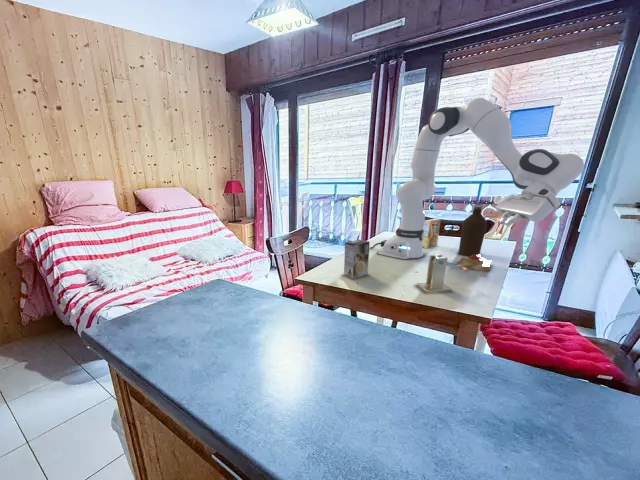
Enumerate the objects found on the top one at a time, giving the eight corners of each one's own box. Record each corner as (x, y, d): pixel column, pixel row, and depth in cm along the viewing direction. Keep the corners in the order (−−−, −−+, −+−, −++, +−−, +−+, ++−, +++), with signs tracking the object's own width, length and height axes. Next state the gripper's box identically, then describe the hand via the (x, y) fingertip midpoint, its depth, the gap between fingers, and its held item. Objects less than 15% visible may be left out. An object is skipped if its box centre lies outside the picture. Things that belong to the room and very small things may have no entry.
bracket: (440, 284, 137) (446, 252, 131) (451, 291, 129) (457, 258, 124) (416, 285, 137) (421, 254, 132) (425, 293, 130) (430, 260, 124)
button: (470, 259, 153) (471, 255, 152) (471, 257, 155) (472, 253, 155) (479, 260, 151) (480, 256, 150) (480, 258, 153) (481, 255, 153)
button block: (457, 267, 154) (459, 259, 153) (461, 261, 161) (462, 253, 160) (487, 271, 147) (489, 263, 146) (490, 265, 154) (492, 257, 153)
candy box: (430, 244, 193) (434, 218, 187) (437, 245, 189) (441, 219, 183) (420, 246, 189) (424, 220, 183) (426, 248, 186) (430, 221, 180)
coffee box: (357, 271, 157) (360, 239, 151) (367, 275, 152) (370, 241, 145) (343, 275, 153) (344, 242, 147) (352, 279, 148) (354, 245, 142)
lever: (458, 269, 133) (461, 263, 132) (466, 273, 128) (470, 268, 127) (429, 260, 131) (432, 255, 131) (436, 264, 126) (439, 259, 125)
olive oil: (468, 258, 166) (478, 208, 156) (452, 252, 175) (460, 205, 166) (485, 255, 168) (496, 206, 158) (469, 250, 177) (478, 203, 168)
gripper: (511, 187, 128) (480, 213, 132) (555, 192, 109) (518, 223, 113) (519, 198, 129) (489, 223, 133) (564, 205, 110) (528, 235, 114)
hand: (503, 223), depth 123 cm, fingers closed
